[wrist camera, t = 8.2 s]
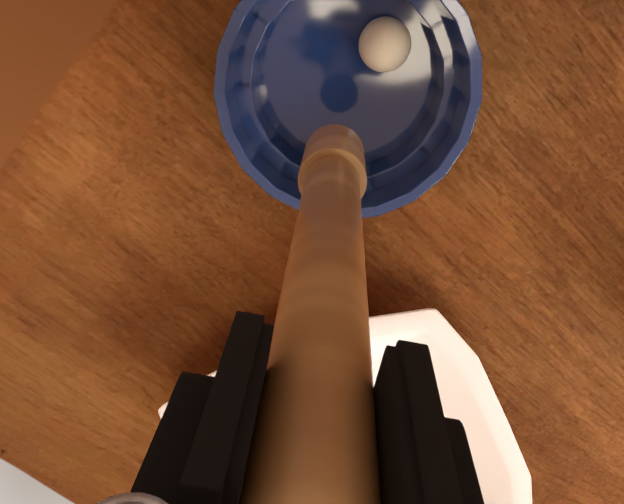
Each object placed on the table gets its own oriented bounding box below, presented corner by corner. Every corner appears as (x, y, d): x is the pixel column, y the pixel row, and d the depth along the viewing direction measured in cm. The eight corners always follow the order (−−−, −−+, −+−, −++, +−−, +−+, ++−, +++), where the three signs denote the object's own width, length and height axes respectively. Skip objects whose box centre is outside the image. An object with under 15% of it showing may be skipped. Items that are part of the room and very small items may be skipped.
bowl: (432, 238, 36) (446, 281, 31) (532, 467, 45) (555, 530, 40) (155, 348, 41) (128, 399, 36) (293, 532, 50) (287, 595, 45)
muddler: (310, 118, 25) (166, 657, 5) (369, 130, 25) (463, 706, 5) (300, 176, 26) (154, 788, 6) (357, 186, 26) (391, 825, 6)
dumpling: (364, 10, 29) (365, 13, 27) (414, 19, 29) (420, 23, 27) (353, 63, 31) (353, 70, 28) (401, 72, 31) (406, 80, 28)
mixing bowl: (249, -72, 28) (228, -83, 24) (492, -24, 29) (521, -25, 24) (224, 164, 34) (204, 195, 30) (426, 202, 35) (438, 238, 30)
